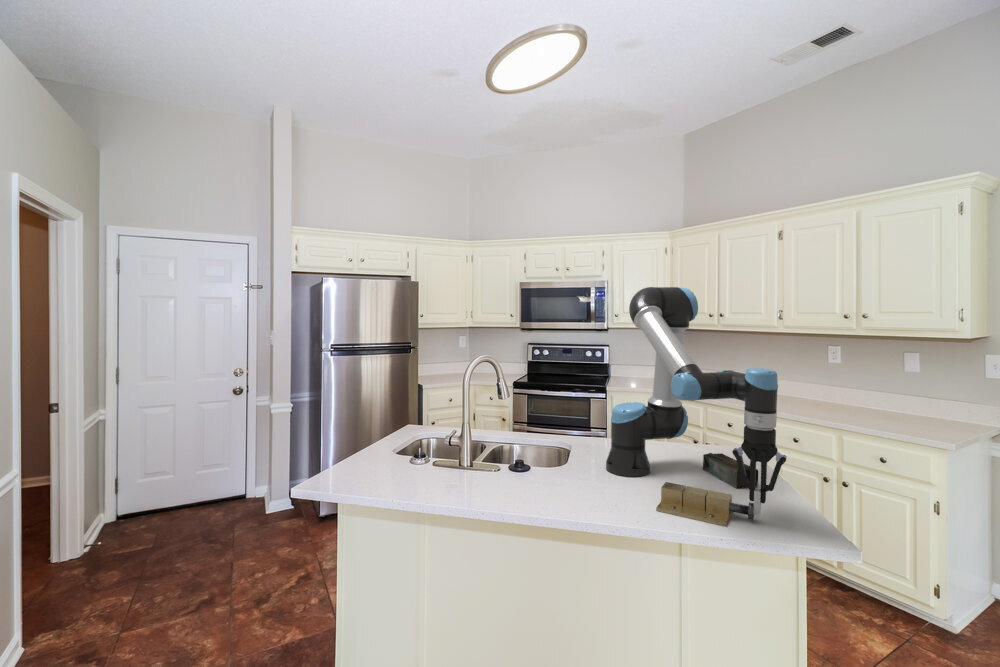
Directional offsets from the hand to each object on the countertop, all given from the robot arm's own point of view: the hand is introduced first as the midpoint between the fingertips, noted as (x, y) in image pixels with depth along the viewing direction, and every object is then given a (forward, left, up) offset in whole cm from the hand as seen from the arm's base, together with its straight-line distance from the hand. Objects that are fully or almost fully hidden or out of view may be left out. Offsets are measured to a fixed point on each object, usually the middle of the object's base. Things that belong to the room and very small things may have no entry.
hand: (757, 513), depth 129 cm
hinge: (-15, 0, -2) cm, 16 cm away
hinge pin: (-10, 0, -2) cm, 10 cm away
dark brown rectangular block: (-11, +32, -3) cm, 34 cm away
